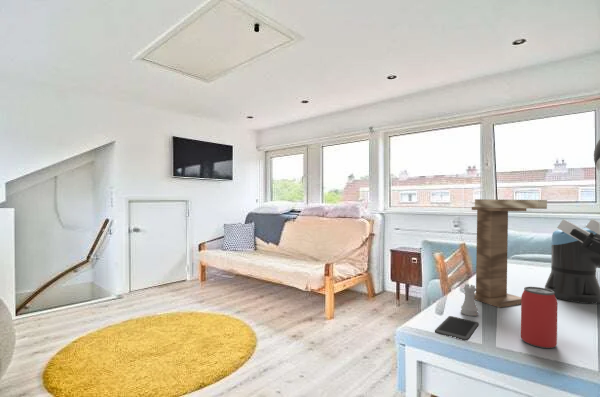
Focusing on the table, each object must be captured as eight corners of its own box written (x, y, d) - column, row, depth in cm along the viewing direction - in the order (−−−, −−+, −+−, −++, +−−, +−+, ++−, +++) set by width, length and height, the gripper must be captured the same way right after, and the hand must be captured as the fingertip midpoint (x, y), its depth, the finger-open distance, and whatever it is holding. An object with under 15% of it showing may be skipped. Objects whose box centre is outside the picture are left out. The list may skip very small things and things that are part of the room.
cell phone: (433, 333, 78) (433, 330, 78) (449, 318, 89) (449, 315, 89) (467, 343, 73) (467, 339, 73) (479, 325, 84) (479, 322, 84)
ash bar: (546, 208, 93) (547, 200, 93) (538, 208, 92) (538, 199, 92) (482, 206, 111) (482, 199, 111) (474, 206, 110) (474, 199, 110)
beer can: (524, 346, 71) (525, 291, 71) (517, 334, 77) (518, 284, 78) (561, 352, 69) (562, 295, 69) (551, 339, 75) (551, 287, 75)
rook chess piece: (471, 317, 89) (472, 288, 89) (457, 312, 93) (457, 284, 93) (481, 315, 91) (482, 286, 91) (467, 310, 95) (467, 282, 95)
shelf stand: (524, 303, 102) (526, 207, 102) (499, 307, 97) (501, 207, 97) (494, 294, 111) (495, 207, 111) (470, 298, 106) (471, 206, 106)
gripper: (638, 298, 65) (539, 236, 82) (688, 287, 75) (591, 233, 92) (666, 270, 61) (556, 210, 78) (714, 262, 72) (608, 211, 89)
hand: (575, 223), depth 85 cm, fingers open, 13 cm apart
